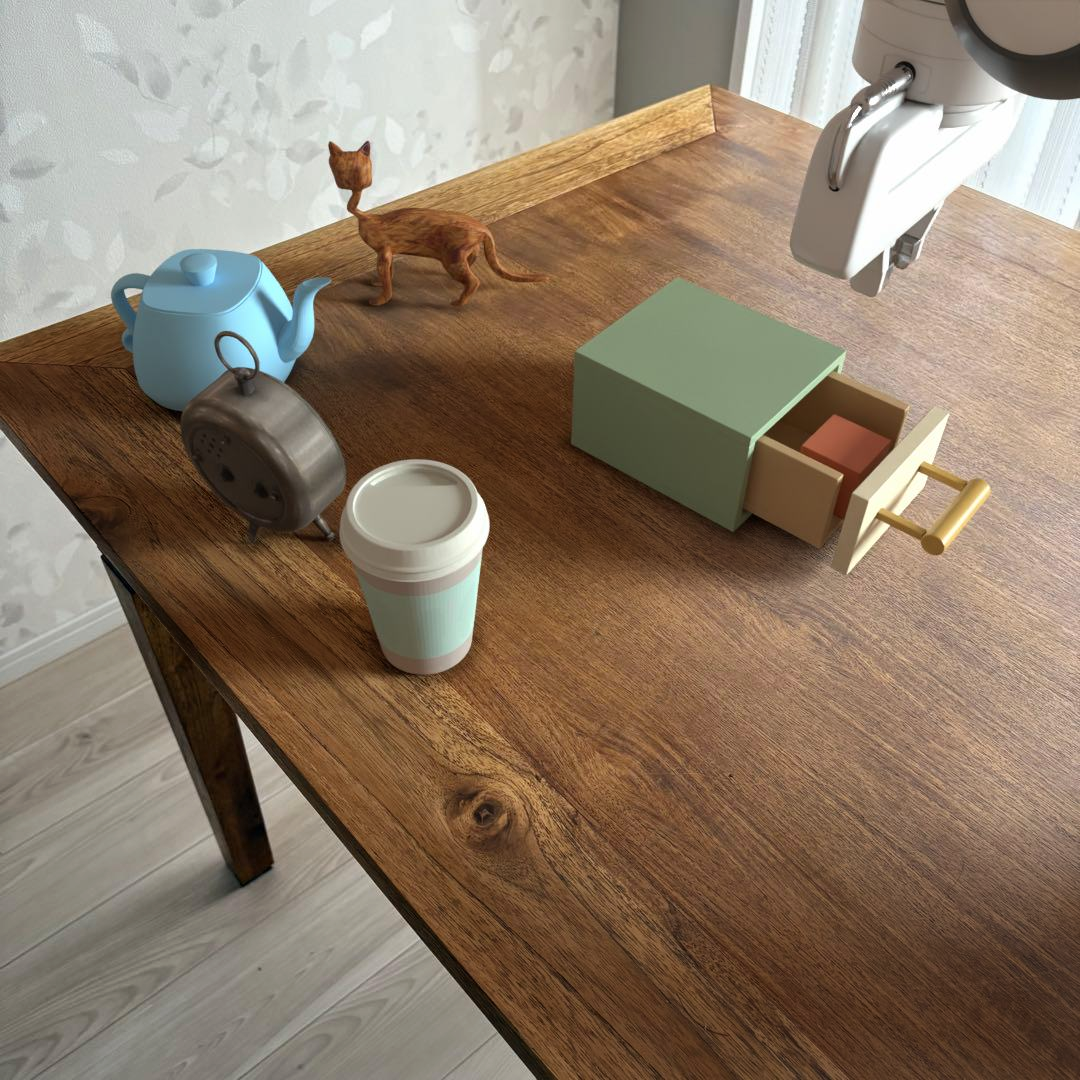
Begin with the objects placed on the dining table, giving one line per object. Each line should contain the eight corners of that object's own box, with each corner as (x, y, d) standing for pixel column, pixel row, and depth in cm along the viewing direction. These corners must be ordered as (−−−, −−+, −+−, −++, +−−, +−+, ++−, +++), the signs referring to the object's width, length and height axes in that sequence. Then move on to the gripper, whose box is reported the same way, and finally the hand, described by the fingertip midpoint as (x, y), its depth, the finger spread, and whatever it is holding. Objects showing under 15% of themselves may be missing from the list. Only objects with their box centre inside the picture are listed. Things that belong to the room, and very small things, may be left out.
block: (877, 488, 78) (891, 440, 75) (846, 521, 76) (860, 473, 73) (822, 461, 80) (834, 413, 77) (790, 492, 78) (801, 445, 74)
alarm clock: (360, 532, 77) (330, 339, 66) (309, 580, 74) (268, 386, 63) (243, 474, 81) (195, 283, 70) (189, 518, 78) (131, 325, 67)
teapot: (305, 321, 77) (58, 297, 78) (325, 439, 84) (99, 415, 86) (353, 228, 85) (130, 208, 87) (367, 343, 93) (162, 323, 95)
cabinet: (823, 443, 84) (847, 350, 78) (733, 532, 78) (751, 438, 72) (667, 367, 91) (677, 276, 85) (570, 444, 84) (574, 350, 78)
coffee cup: (518, 621, 72) (517, 484, 63) (444, 714, 67) (432, 579, 58) (410, 571, 75) (395, 434, 66) (331, 657, 70) (303, 520, 61)
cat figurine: (547, 270, 101) (550, 124, 91) (551, 311, 96) (554, 163, 87) (349, 273, 100) (330, 127, 91) (343, 315, 96) (322, 166, 86)
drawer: (987, 517, 78) (1018, 443, 73) (912, 611, 71) (940, 537, 67) (763, 409, 86) (777, 336, 81) (678, 486, 80) (688, 412, 75)
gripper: (908, 125, 49) (844, 377, 59) (1083, -4, 60) (1004, 226, 70) (785, 85, 52) (743, 332, 62) (973, -31, 63) (912, 194, 73)
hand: (883, 275), depth 66 cm, fingers closed
